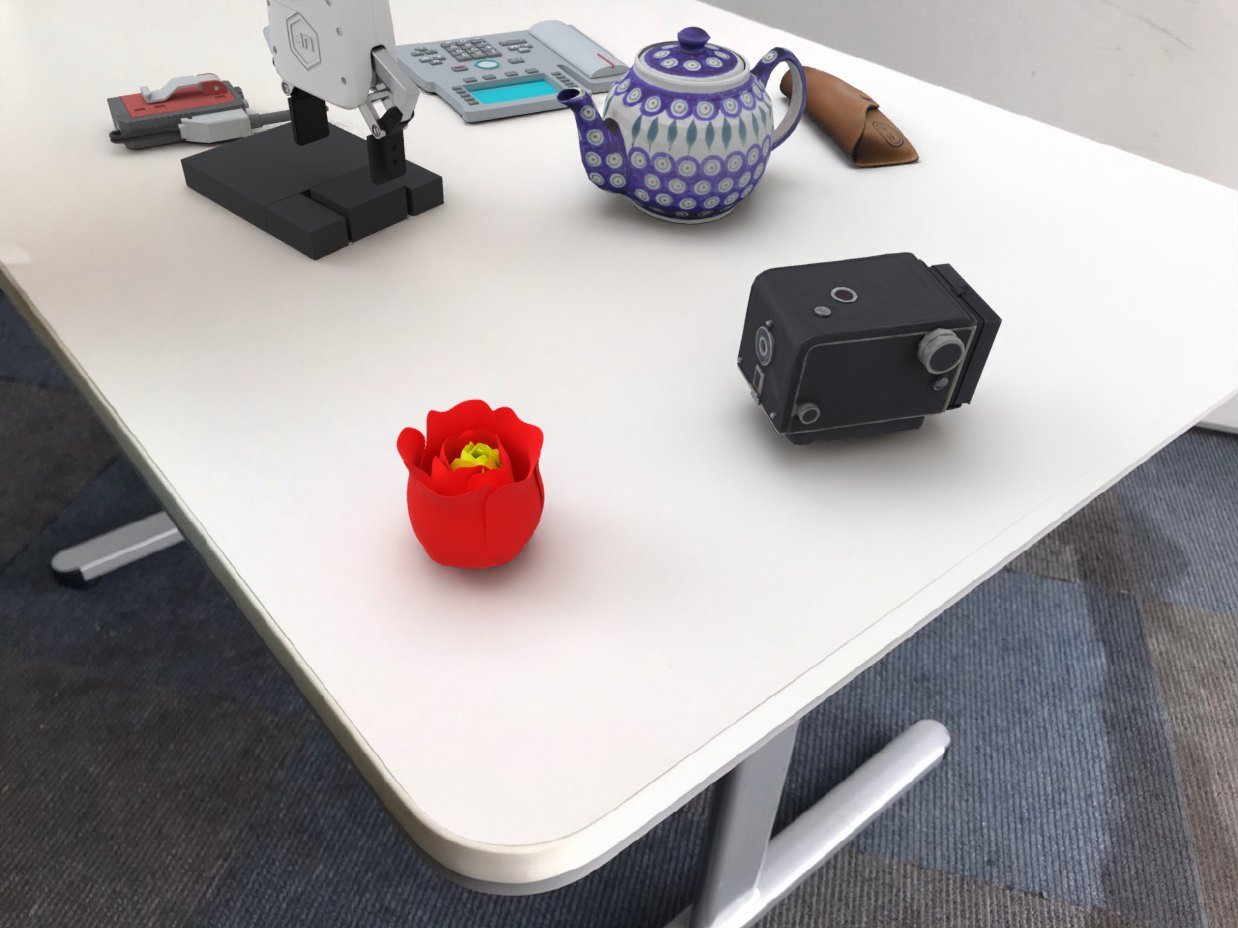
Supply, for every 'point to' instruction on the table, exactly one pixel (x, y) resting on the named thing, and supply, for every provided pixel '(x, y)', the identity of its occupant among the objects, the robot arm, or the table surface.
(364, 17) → the robot arm
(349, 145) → the big pad
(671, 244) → the table surface
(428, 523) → the flower
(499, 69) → the office telephone
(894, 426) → the camera
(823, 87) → the sunglasses case
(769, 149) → the teapot
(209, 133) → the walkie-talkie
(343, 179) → the small pad
